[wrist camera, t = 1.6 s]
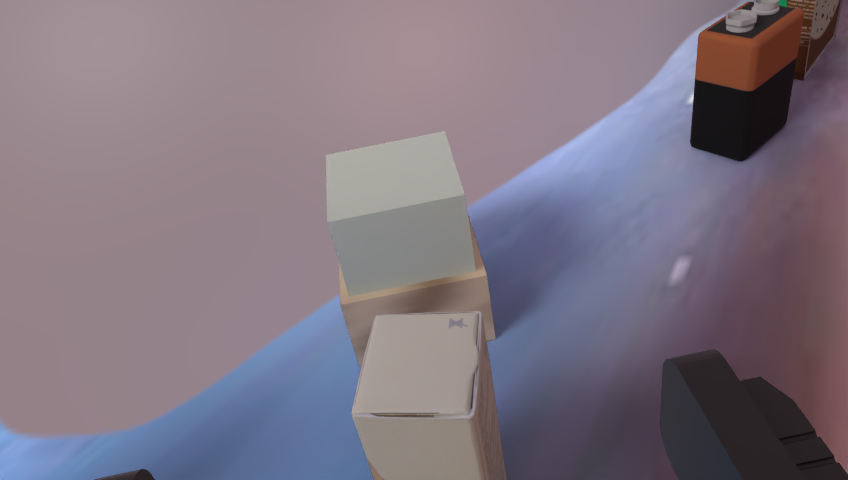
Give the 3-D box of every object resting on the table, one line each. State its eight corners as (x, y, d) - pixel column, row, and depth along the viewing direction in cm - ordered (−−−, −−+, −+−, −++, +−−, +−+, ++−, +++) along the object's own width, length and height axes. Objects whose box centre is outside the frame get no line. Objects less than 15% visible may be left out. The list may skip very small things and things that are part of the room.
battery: (686, 148, 53) (696, 19, 48) (733, 111, 57) (748, -14, 51) (742, 165, 51) (759, 29, 45) (788, 125, 54) (810, -6, 48)
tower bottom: (359, 368, 41) (340, 304, 38) (354, 282, 47) (337, 221, 44) (495, 341, 41) (486, 275, 38) (471, 258, 47) (462, 196, 44)
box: (420, 475, 34) (375, 306, 28) (509, 476, 33) (485, 303, 27) (403, 582, 30) (346, 414, 23) (505, 587, 29) (475, 414, 23)
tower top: (349, 296, 38) (327, 222, 35) (345, 224, 44) (326, 154, 41) (476, 271, 38) (464, 194, 35) (455, 202, 44) (444, 131, 41)
